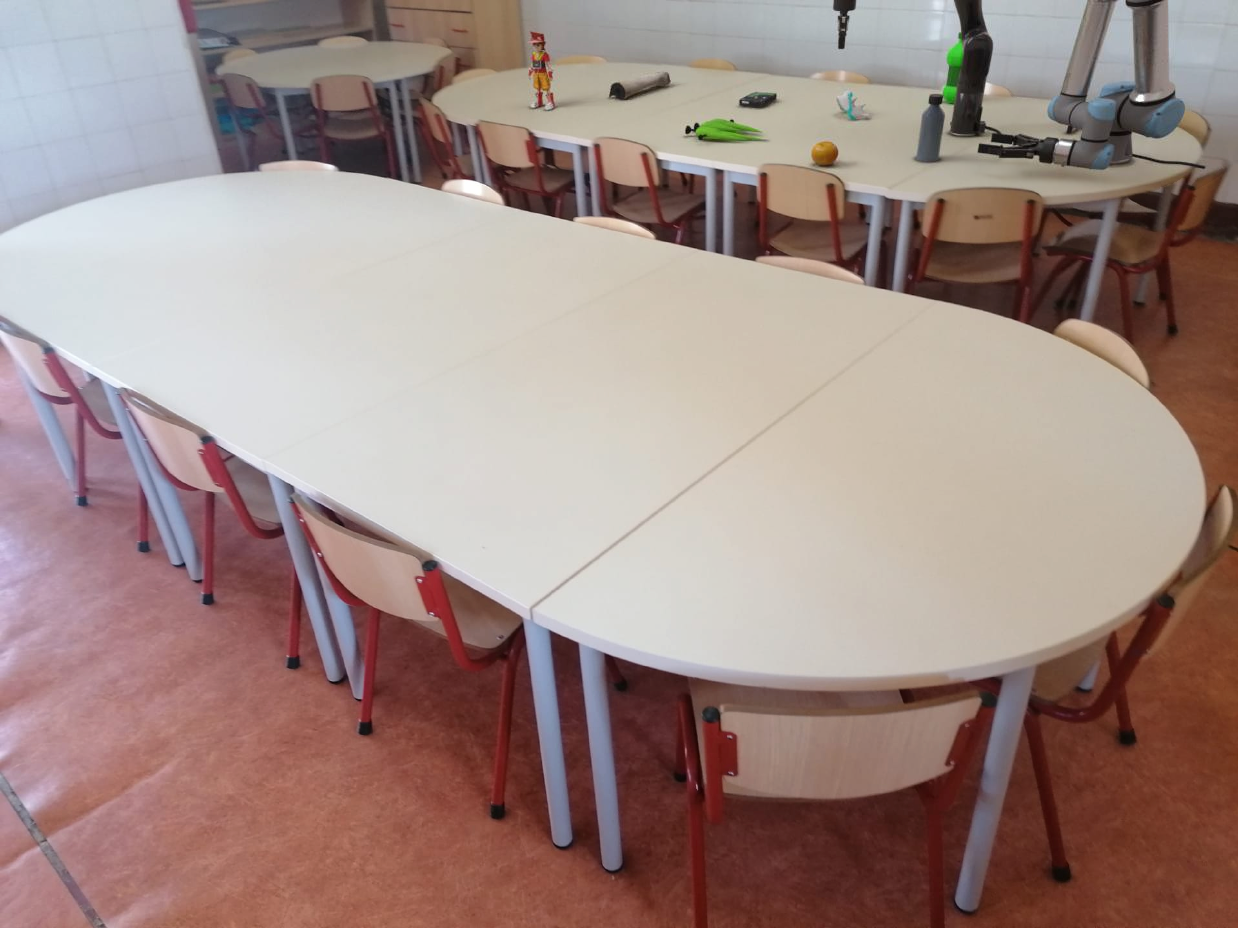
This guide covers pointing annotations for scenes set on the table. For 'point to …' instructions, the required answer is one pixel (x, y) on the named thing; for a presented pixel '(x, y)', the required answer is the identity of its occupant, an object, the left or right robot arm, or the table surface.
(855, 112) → the anatomical model
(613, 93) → the rolled mat
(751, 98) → the disk drive
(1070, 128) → the midi keyboard
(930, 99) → the cap
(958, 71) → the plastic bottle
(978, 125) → the left robot arm
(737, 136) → the toy
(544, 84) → the toy
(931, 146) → the bottle
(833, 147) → the fruit
